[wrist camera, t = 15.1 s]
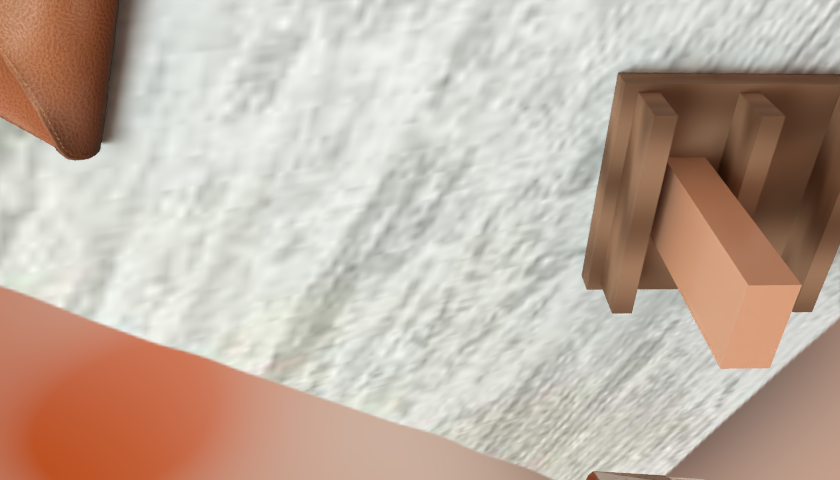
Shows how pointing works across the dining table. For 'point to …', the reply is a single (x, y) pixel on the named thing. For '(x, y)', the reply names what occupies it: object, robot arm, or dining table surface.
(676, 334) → the dining table surface
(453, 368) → the dining table surface
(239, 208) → the dining table surface
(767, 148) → the rack
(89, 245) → the dining table surface
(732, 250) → the clay slab
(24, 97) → the sunglasses case
